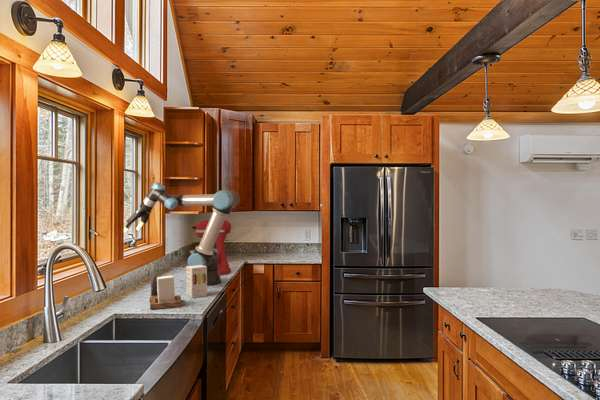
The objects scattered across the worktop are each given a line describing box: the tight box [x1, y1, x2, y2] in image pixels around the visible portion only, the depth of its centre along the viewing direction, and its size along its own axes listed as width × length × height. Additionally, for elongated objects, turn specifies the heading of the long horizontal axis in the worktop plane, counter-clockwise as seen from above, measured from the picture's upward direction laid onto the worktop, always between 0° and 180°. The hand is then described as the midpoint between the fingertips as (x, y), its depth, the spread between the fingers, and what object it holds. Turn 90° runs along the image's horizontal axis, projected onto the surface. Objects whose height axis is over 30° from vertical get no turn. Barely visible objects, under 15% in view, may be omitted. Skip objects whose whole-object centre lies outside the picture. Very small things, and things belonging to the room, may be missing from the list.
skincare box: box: [157, 274, 176, 303], centre depth 209 cm, size 8×6×15 cm
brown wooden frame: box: [149, 274, 182, 310], centre depth 214 cm, size 16×25×13 cm, turn 18°
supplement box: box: [185, 265, 208, 299], centre depth 229 cm, size 10×9×17 cm
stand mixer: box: [189, 219, 232, 276], centre depth 299 cm, size 24×32×40 cm
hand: (131, 230), depth 258 cm, fingers open, 13 cm apart
